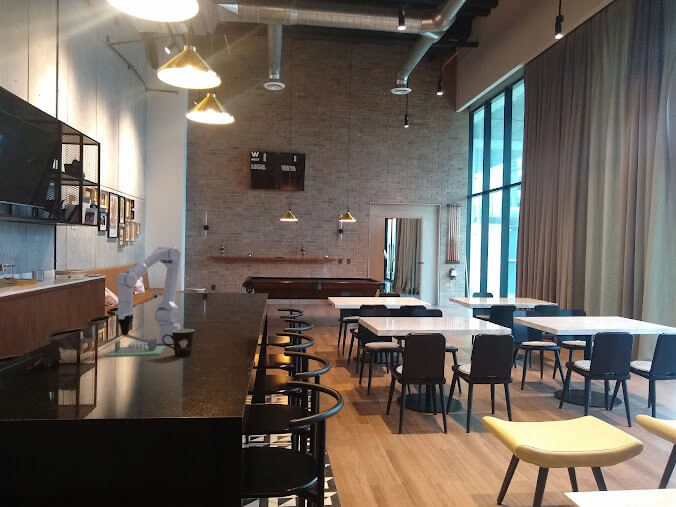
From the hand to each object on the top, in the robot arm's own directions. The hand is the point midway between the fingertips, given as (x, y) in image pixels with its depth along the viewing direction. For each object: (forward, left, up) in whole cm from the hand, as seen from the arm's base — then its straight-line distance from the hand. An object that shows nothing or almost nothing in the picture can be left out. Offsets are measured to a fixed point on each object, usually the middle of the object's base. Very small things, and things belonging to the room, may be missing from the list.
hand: (125, 334), depth 197 cm
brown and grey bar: (-5, 0, -3) cm, 6 cm away
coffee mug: (-23, +9, -8) cm, 26 cm away
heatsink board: (-5, 0, -8) cm, 9 cm away
